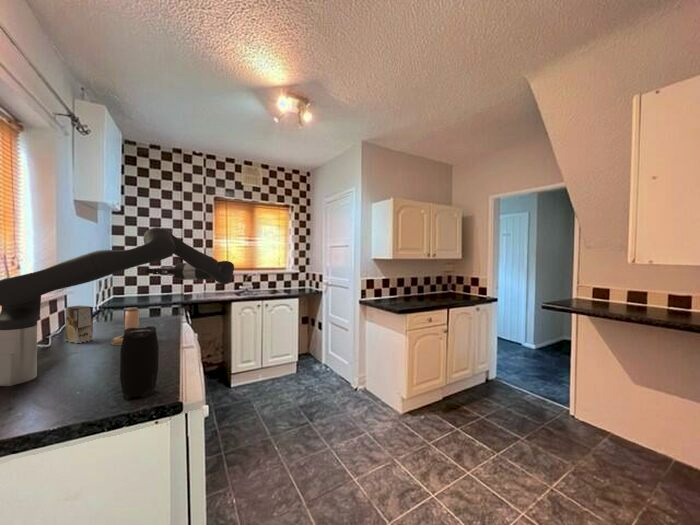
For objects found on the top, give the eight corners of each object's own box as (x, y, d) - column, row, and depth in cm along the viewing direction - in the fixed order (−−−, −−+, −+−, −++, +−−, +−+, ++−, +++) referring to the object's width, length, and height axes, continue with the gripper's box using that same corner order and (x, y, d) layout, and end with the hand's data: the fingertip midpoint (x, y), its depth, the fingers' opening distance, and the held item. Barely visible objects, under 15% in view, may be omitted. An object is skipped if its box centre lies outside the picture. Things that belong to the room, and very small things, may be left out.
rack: (133, 345, 139) (134, 339, 139) (111, 344, 138) (111, 339, 138) (150, 338, 151) (150, 333, 151) (129, 337, 150) (129, 332, 150)
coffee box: (93, 340, 144) (94, 306, 144) (78, 344, 138) (78, 308, 138) (79, 338, 147) (80, 305, 147) (64, 342, 141) (64, 307, 141)
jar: (133, 342, 142) (134, 309, 142) (122, 341, 142) (122, 309, 142) (140, 339, 147) (141, 307, 147) (129, 338, 147) (130, 307, 147)
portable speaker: (114, 396, 89) (115, 329, 89) (148, 385, 97) (149, 324, 97) (129, 404, 85) (130, 334, 85) (163, 392, 93) (164, 327, 93)
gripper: (195, 262, 146) (160, 261, 146) (180, 263, 132) (141, 262, 131) (195, 278, 146) (160, 277, 146) (179, 281, 132) (141, 280, 131)
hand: (151, 270), depth 139 cm, fingers open, 8 cm apart
